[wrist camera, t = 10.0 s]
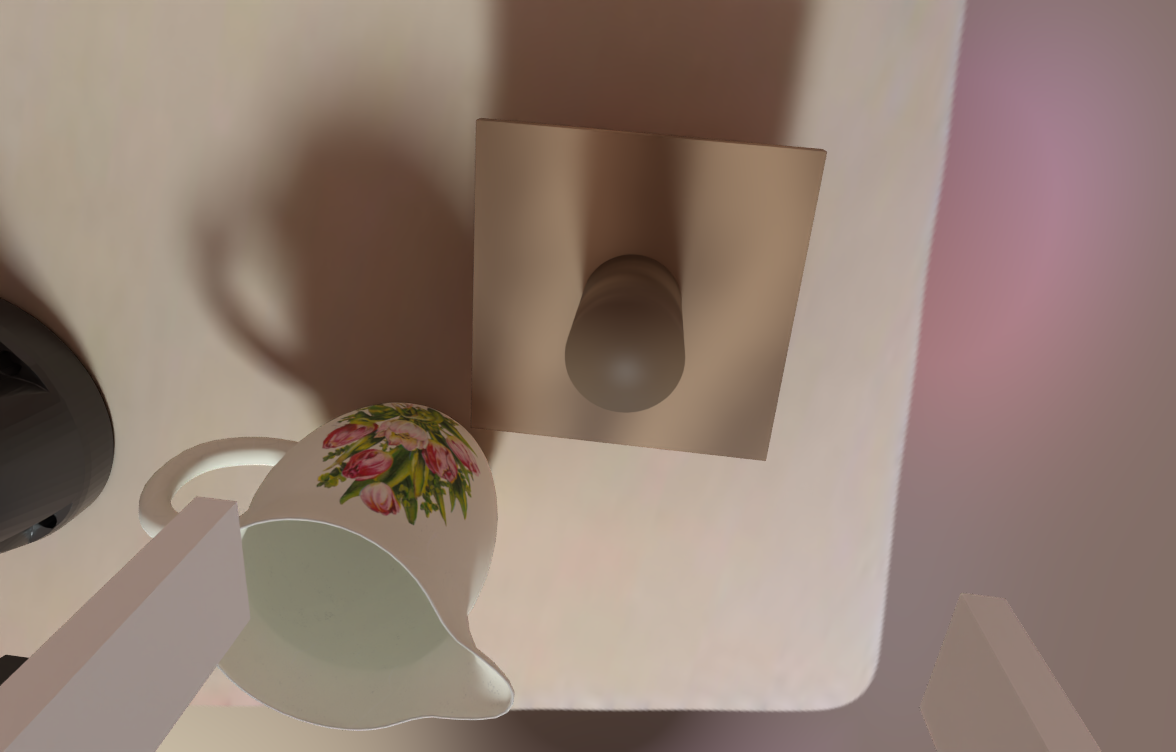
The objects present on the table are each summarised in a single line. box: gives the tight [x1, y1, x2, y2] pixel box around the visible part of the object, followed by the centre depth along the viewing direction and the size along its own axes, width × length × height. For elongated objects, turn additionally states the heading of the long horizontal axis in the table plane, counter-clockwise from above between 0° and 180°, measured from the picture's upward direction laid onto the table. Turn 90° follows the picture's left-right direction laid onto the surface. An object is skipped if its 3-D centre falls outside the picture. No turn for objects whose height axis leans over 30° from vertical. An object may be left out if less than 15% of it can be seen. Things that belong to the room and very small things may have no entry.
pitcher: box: [139, 403, 514, 731], centre depth 35 cm, size 11×18×14 cm, turn 72°
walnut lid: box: [471, 118, 827, 461], centre depth 28 cm, size 13×13×7 cm
